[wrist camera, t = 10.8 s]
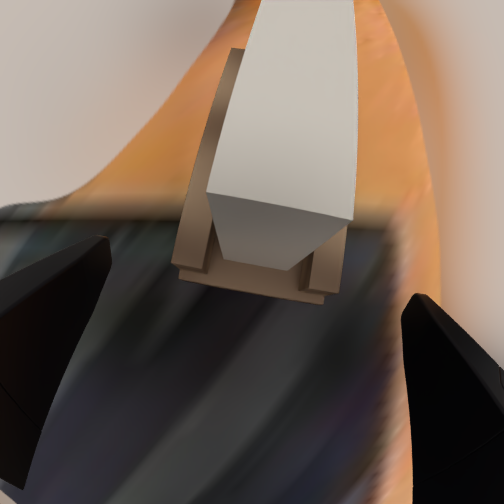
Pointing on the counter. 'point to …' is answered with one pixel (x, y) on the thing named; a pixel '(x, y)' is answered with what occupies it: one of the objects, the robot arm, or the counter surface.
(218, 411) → the counter surface
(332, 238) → the flanged channel block
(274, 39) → the clay slab
